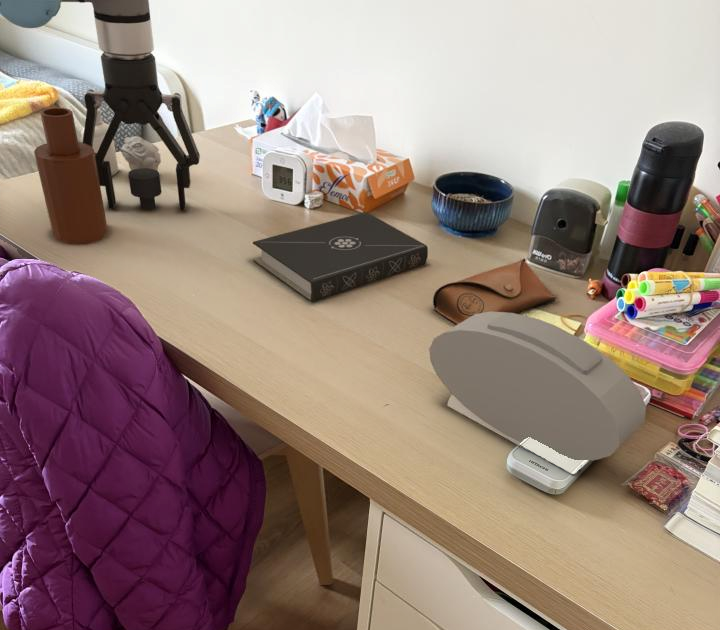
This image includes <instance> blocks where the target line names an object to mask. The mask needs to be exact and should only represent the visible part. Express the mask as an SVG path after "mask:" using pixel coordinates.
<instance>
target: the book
mask: <svg viewBox="0 0 720 630" xmlns="http://www.w3.org/2000/svg"><path fill="white" fill-rule="evenodd" d="M252 244H253V245H254V246H256V247H257V248H258V249H260V250H261V256H260V257H256V258H254V259H253V262H254V263H255V264H257V265H258V266H260V267H261V268H262V269H264V271H267V272H268V273H269V274H271V275H272V276H274V277H275V278H277V280H280V282H282V283H284V284H285V285H286V286H288V287H289V288H290V289H292V290H294V291H295V292H296V293H298V294H299V295H300V296H302V297H304V298H305V299H307V300H308V301H309V302H310V303H314V302H317V301H320V300H323V299H327V298H329V297H332V296H336V295H338V294H341V293H344V292H347V291H350V290H353V289H356V288H359V287H362V286H365V285H368V284H372V283H375V282H377V281H380V280H381V281H382V280H383V279H386V278H390V277H393V276H396V275H398V274H401V273H405V272H408V271H411V270H414V269H418V268H420V267H423V266H425V265H426V263H427V261H428V255H429V247H428V245H427V244H425V243H424V242H421V241H420V240H418V239H416V238H414V237H412V236H411V235H408V234H407V233H405V232H403V231H401V230H399V229H398V228H397V227H394V226H392V225H391V224H389V223H387V222H386V221H384V220H382V219H380V218H379V217H376V216H375V215H373V214H371V213H369V212H368V211H365V212H361V213H357V214H352V215H348V216H345V217H342V218H337V219H334V220H330V221H326V222H322V223H318V224H315V225H311V226H308V227H304V228H299V229H296V230H292V231H288V232H284V233H281V234H277V235H273V236H269V237H265V238H261V239H257V240H254V241H252Z"/></svg>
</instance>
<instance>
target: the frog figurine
mask: <svg viewBox="0 0 720 630" xmlns="http://www.w3.org/2000/svg"><path fill="white" fill-rule="evenodd" d="M159 149H160V148H159V147H157V145H155V144H154V143H151V142H149V141H148V140H145V139H144V138H142V137H141V136H138V135H134V136H133V135H132V136H131V137H130V136H127V137H125V138H124V143H123V144H122V146H121V148H120V153H121V154H122V155H121V156H122V157H123V158H124V160H125V161H126V162H127V163H128V167H129V169H130V171H131V170H134V169H138V168H150V169H154V170H157V171H159V166H160V164H161V162H162V159H161V153H159V152H160V151H159Z"/></svg>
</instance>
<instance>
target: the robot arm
mask: <svg viewBox="0 0 720 630" xmlns="http://www.w3.org/2000/svg"><path fill="white" fill-rule="evenodd" d="M62 3H80V4H81V3H82V4H84V3H91V6H92V8H93V14H94V15H93V16H94V17H93V18H94V24H95V30H96V38H97V43H98V49H99V50H100V51H101V52H102V54H101V55H100V61H101V62H100V63H101V67H102V68H101V69H102V74H103V81H104V91H94V90H93V89H87V90H86V92H85V94H84V96H83V99H84V104H85V109H87V113H86V112H85V121H84V127H85V128H84V127H83V128H84V135H83V142H82V141H81V143H85V144H87V145H90V146H91V147H92V145H93V138H94V132H95V125H96V118H97V110H98V109H99V108H100V109H101V107H102V105H103V104H102V103H103V102H104V103H106V105H107V106H108V107H109V109H110V110H111V111H112V112H113V116H112V118H111V121H110V123H109V124H108V125H109V128H108V130H107V132H106V134H105V136H104V139H103V141H102V143H101V145H100V148H99V150H98V152H97V153H95V152H94V154H95V159H96V165H97V171H98V177H99V182H100V187H104V188H105V193H106V200H107V205H108V209H109V210H114V209H115V207H116V204H117V200H116V194H115V193H116V192H115V187H114V181H113V176H112V174H111V168H110V162H109V161H104V158H105V156H106V154H107V151H108V149H109V147H110V145H111V143H112V140H113V139H114V138H115V136H116V134H117V132H118V129H119V127H120V125H121V123H124V124H125V125H133V124H138V125H142V126H147V125H148V124H149V125H150V127H151V128H152V129H153V130H154V131H155V132H156V134H157V135H158V137H159V138H160V139H161V141H162V143H163V144H164V145H165V146H166V148H167V149H168V151H169V153H170V154H171V155H172V157H173V158H174V160H175V161H176V165H175V175H176V185H177V195H178V203H179V204H178V205H179V211H186V193H185V189H190V186H191V171H190V167H192V166H197V165H199V163H200V158H201V155H200V152H199V149H198V147H197V145H196V144H197V143H196V142H195V139H194V136H193V134H192V132H191V129H190V127H189V124H188V122H187V119H186V116H185V114H184V111H183V106H182V104H183V103H182V95H181V94H180V93H178V92H175V93H174V94H166V93H165V94H163V93H162V91H161V90H160V87H159V81H158V72H157V62H156V57H155V56H154V54H153V53H152V52H153V51H154V49H155V45H154V44H155V43H154V36H153V27H152V20H151V12H150V11H151V10H150V1H149V0H0V15H1V16H2V18H4V19H5V20H7V21H8V22H10V23H11V24H13V25H15V26H17V27H21V28H24V29H38V28H41V27H43V26H45V25H47V24H48V23H49V22H50V21H51V20H52V19H53V18H54V17H56V16H57V15H58V13H59V11H60V10H61V4H62ZM162 104H163V105H165V106H166V108H167V110H168V111H169V112H172V116H173V119H174V122H175V125H176V127H177V129H178V132H179V135H180V137H181V141H182V142H183V145H184V147H185V149H186V152H187V154H186V153H185V151H184V150H183V148H182V147H181V145H180V143H179V142H178V141H177V139H176V138H175V137H174V135H173V134H172V131H170V129H169V128H168V126H167V125H166V124H165V122H164V119H163V118H162V116H161V114H160V113H159V112H158V111H159V109H160V108H161V107H162Z"/></svg>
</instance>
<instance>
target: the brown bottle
mask: <svg viewBox="0 0 720 630" xmlns="http://www.w3.org/2000/svg"><path fill="white" fill-rule="evenodd" d="M39 114H40V118H41V122H42V127H43V132H44V136H45V141H46V143H43V144H41V145H39V146H36V148H35V149H34V151H33V152H34V153H33V154H34V158H35V162H36V166H37V171H38V175H39V179H40V180H39V181H40V184H41V189H42V193H43V198H44V203H45V207H46V210H47V211H46V212H47V215H48V220H49V223H50V227H51V231H52V234H53V237H54V238H55V239H56V240H57V241H59V242H61V243H66V244H71V245H84V244H91V243H95V242H98V241H100V240H102V239H103V238H105V237H106V236H107V235H108V222H107V217H106V212H105V205H104V200H103V195H102V189H101V186H100V182H99V177H98V171H97V165H96V159H95V154H94V149H93V148H92V147H91V146H90V145H87V144H85V143H82V141H81V142H80V141H79V140H78V139H79V138H78V134H77V128H76V124H75V117H74V112H73V111H72V109H69V108H67V107H66V108H65V107H48V108H45V109H42V110H41V111H40V113H39Z"/></svg>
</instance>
